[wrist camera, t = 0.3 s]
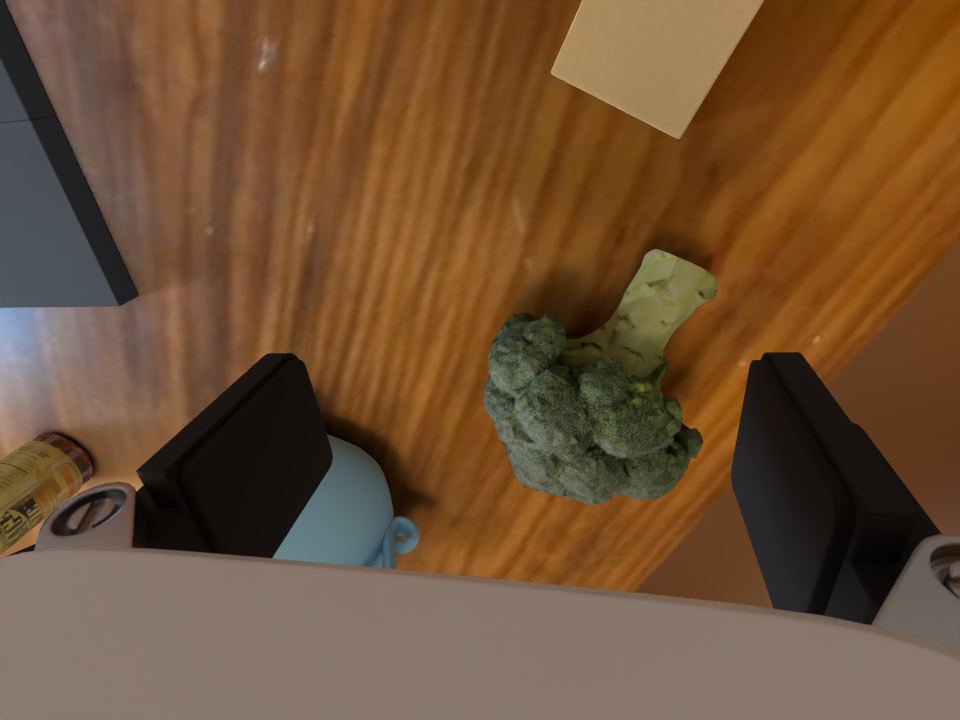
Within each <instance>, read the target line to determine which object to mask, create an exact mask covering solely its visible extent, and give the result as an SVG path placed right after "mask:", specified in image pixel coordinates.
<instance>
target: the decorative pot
mask: <svg viewBox="0 0 960 720" xmlns="http://www.w3.org/2000/svg"><path fill="white" fill-rule="evenodd" d="M327 436H328V439H329V443H330V446H331V449H332V453H333V460H332V465H331V467H330V469H329V471H328V472H327V474H326V475H325V477H324V478H323V480H322V481H321V483H320V485H319V486H318V488H317V489H316V491H315V492H314V494H313V495H312V497H311V499H310V500H309V502H308V503H307V505H306V506H305V508H304V510H303V511H302V513H301V514H300V516H299V517H298V519H297V520H296V522H295V524H294V525H293V527H292V528H291V530H290V531H289V533H288V534H287V536H286V538H285V539H284V541H283V542H282V544H281V545H280V547H279V549H278V550H277V552H276V553H275V555H274V556H273V559H285V560H296V561H308V562H319V563H331V564H341V565H352V566H363V567H374V568H385V569H396V552H398V553H408V552H410V551H411V550H413V549H414V548H415V546H416V545H417V543H418V541H419V537H420V532H419V528H418V526H417V525H416V524H415V522H413V521H412V520H411V519H409V518H407V517H404V516H397V517H394V512H393V506H392V501H391V496H390V491H389V488H388V485H387V482H386V478H385V476H384V473H383V471H382V469H381V468H380V466H379V465H378V463H377V462H376V461H375V460H374V459H373V458H372V457H371V456H370V455H369V454H367V453H366V452H365V451H363V450H362V449H361V448H359V447H357V446H355V445H353V444H351V443H348V442H346V441H344V440H341V439H339V438H336V437H334V436H331V435H328V434H327ZM399 535H404V536H406V537H408V538H407V539H406V540H404V541H400V540H397V539H396V537H397V536H399Z"/></svg>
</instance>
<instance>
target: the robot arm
mask: <svg viewBox="0 0 960 720" xmlns="http://www.w3.org/2000/svg"><path fill="white" fill-rule="evenodd" d="M332 460H333V453H332V449H331V446H330V443H329V439H328V436H327V433H326V430H325V427H324V423H323V420H322V417H321V414H320V411H319V407H318V404H317V401H316V398H315V394H314V391H313V388H312V385H311V382H310V378H309V375H308V372H307V369H306V366H305V364H304V362H303V361H302V360H299V359H298V358H297V356H296V355H294V354H292V353H270V354H266V355H265V356H263V357H262V358H261V359H260V360H259V361H258V362H257V363H256V364H255V365H253V366H252V367H251V368H250V369H249V370H248V371H247V372H246V373H245V374H243V375H242V376H241V377H240V378H239V379H238V380H237V381H236V382H234V383H233V384H232V385H231V386H230V387H229V388H228V389H227V390H226V391H224V392H223V393H222V394H221V395H220V396H219V397H218V398H217V399H216V400H214V401H213V402H212V403H211V404H210V405H209V406H208V407H207V408H206V409H204V410H203V411H202V412H201V413H200V414H199V415H198V416H197V417H196V418H194V419H193V420H192V421H191V422H190V423H189V424H188V425H187V426H186V427H184V428H183V429H182V430H181V431H180V432H179V433H178V434H177V435H176V436H174V437H173V438H172V439H171V440H170V441H169V442H168V443H167V444H166V445H164V446H163V447H162V448H161V449H160V450H159V451H158V452H157V453H156V454H154V455H153V456H152V457H151V458H150V459H149V460H148V461H147V462H145V463H144V464H143V465H142V466H141V467H140V468H139V469H138V470H137V471H136V472H137V474H138V475H139V477H140V479H141V481H142V483H143V484H144V485H143V486H142V487H141V488H140V489H139V490H138V491H137V492H136V490H135V488H134V487H133V486H131V485H130V484H129V483H123V482H114V483H106V484H103V485H99V486H96V487H93V488H91V489H88V490H86V491H84V492H81V493H79V494H77V495H76V496H74V497H72V498H70V499H69V500H67V501H65V502H64V503H63V504H62V505H60V506H59V507H58V508H56V509H55V510H54V511H53V512H52V513H51V514H50V515H49V516H48V517H47V518H46V519H45V521H44V523H43V525H42V527H41V529H40V531H39V535H38V538H37V542H36V544H34V545H32V546H30V547H27V548H25V549H22V550H20V551H18V552H15V553H13V554H11V555H8V556H6V557H2V558H0V720H960V534H941V533H940V531H939V530H938V529H937V527H936V526H935V525H934V523H933V522H932V521H931V519H930V518H929V517H928V515H927V514H926V513H925V511H924V510H923V509H922V507H921V506H920V505H919V503H918V502H917V501H916V499H915V498H914V497H913V495H912V494H911V493H910V491H909V490H908V489H907V487H906V486H905V485H904V483H903V482H902V480H901V479H900V478H899V477H898V475H897V474H896V472H895V471H894V470H893V468H892V467H891V466H890V465H889V463H888V462H887V461H886V459H885V458H884V457H883V455H882V454H881V452H880V451H879V450H878V448H877V447H876V446H875V444H874V443H873V442H872V440H871V439H870V438H869V436H868V435H867V434H866V433H865V431H864V430H863V429H862V428H861V427H860V426H859V425H857V424H854V423H852V422H851V421H850V420H849V418H848V417H847V416H846V414H845V413H844V411H843V410H842V409H841V407H840V406H839V404H838V403H837V402H836V400H835V399H834V398H833V397H832V395H831V394H830V392H829V391H828V389H827V388H826V387H825V385H824V384H823V383H822V381H821V380H820V378H819V377H818V376H817V374H816V373H815V372H814V370H813V369H812V368H811V366H810V365H809V363H808V362H807V361H806V359H805V358H804V357H803V355H802V354H801V353H797V352H781V353H764V354H763V356H762V358H761V360H753V361H752V362H751V364H750V368H749V374H748V379H747V385H746V391H745V396H744V402H743V407H742V413H741V418H740V424H739V430H738V435H737V441H736V446H735V452H734V458H733V463H732V469H731V480H732V486H733V490H734V493H735V496H736V498H737V501H738V505H739V507H740V510H741V513H742V516H743V519H744V522H745V525H746V528H747V531H748V534H749V537H750V540H751V543H752V546H753V549H754V552H755V555H756V558H757V561H758V564H759V566H760V570H761V572H762V576H763V578H764V581H765V584H766V587H767V590H768V593H769V596H770V599H771V602H772V605H773V608H774V609H773V608H766V607H758V606H751V605H742V604H734V603H726V602H716V601H708V600H698V599H689V598H680V597H671V596H662V595H654V594H644V593H634V592H624V591H614V590H603V589H593V588H583V587H573V586H563V585H553V584H543V583H533V582H522V581H512V580H502V579H492V578H481V577H471V576H460V575H449V574H439V573H428V572H417V571H407V570H396V569H385V568H374V567H363V566H352V565H341V564H331V563H319V562H308V561H296V560H285V559H273V556H274V555H275V553H276V552H277V550H278V549H279V547H280V545H281V544H282V542H283V541H284V539H285V538H286V536H287V534H288V533H289V531H290V530H291V528H292V527H293V525H294V524H295V522H296V520H297V519H298V517H299V516H300V514H301V513H302V511H303V510H304V508H305V506H306V505H307V503H308V502H309V500H310V499H311V497H312V495H313V494H314V492H315V491H316V489H317V488H318V486H319V485H320V483H321V481H322V480H323V478H324V477H325V475H326V474H327V472H328V471H329V469H330V467H331V465H332Z"/></svg>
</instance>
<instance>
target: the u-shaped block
mask: <svg viewBox="0 0 960 720" xmlns="http://www.w3.org/2000/svg"><path fill="white" fill-rule="evenodd" d="M136 297H138V295H137V293H136V290H135V288H134V286H133V284H132V282H131V280H130V277H129V275H128V273H127V271H126V269H125V266H124V264H123V262H122V260H121V258H120V255H119V253H118V251H117V249H116V247H115V244H114V242H113V240H112V238H111V236H110V233H109V231H108V229H107V227H106V225H105V222H104V220H103V218H102V216H101V214H100V211H99V209H98V207H97V205H96V203H95V200H94V198H93V196H92V194H91V192H90V190H89V187H88V185H87V183H86V181H85V179H84V176H83V174H82V172H81V170H80V168H79V165H78V163H77V161H76V159H75V157H74V154H73V152H72V150H71V148H70V146H69V143H68V141H67V139H66V137H65V135H64V132H63V130H62V128H61V126H60V124H59V121H58V119H57V117H55V113H54V111H53V109H52V107H51V104H50V102H49V100H48V98H47V96H46V93H45V91H44V89H43V87H42V85H41V83H40V80H39V78H38V76H37V74H36V72H35V69H34V67H33V65H32V63H31V61H30V58H29V56H28V54H27V52H26V50H25V47H24V45H23V43H22V41H21V39H20V36H19V34H18V32H17V30H16V28H15V25H14V23H13V21H12V19H11V17H10V15H9V12H8V10H7V8H6V6H5V4H4V1H3V0H0V308H4V307H97V306H121V305H123V304H125V303H127V302H128V301H130V300H132V299H134V298H136Z"/></svg>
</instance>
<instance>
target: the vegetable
mask: <svg viewBox="0 0 960 720" xmlns="http://www.w3.org/2000/svg"><path fill="white" fill-rule="evenodd" d="M717 284H718V281H717V280H716V278H715V277H714V276H713V275H712V274H710V273H709V272H707V271H706V270H704V269H703V268H701V267H699V266H697V265H695V264H693V263H691V262H689V261H686V260H684V259H681V258H679V257H677V256H674V255H672V254H669V253H667V252H665V251H661V250H658V249H653V250H651V251H650V252H648V253H647V254H646V255H645V256H644V259H643V262H642V265H641V267H640V269H639V270H638V272H637V274H636V275H635V277H634V279H633V280H632V282H631V283H630V285H629V287H628V288H627V290H626V292H625V293H624V295H623V298H622V300H621V303H620V305H619V306H618V308H617V309H616V311H615V312H614V314H613V315H612V317H611V319H610V320H609V321H607V322H606V323H605V324H604V325H603V326H601V327H600V328H599V329H597V330H596V331H594V332H593V333H591V334H589V335H586V336H584V337H581V338H579V339H566V332H565V328H564V326H563V324H562V322H561V320H560V319H559V318H558V317H557V316H555V315H552V314H549V313H545V315H544V317H543V318H541V319H539V320H536V319H535V317H533V316H532V315H531V314H530V313H520V314H519V315H518V314H514V315H513V316H512V317H511V318H510V319H509V320H508V321H507V322H506V323H504V325H503V327H501V328H500V332H499V333H498V334H497V336H496V338H495V340H494V341H492V343H491V351H490V353H489V356H488V358H489V359H488V372H489V373H490V377H489V378H488V380H487V381H486V383H485V386H484V397H483V401H484V407H485V410H486V411H487V412H488V414H489V415H490V416H491V418H492V419H493V420H494V421H495V429H496V431H497V432H498V438H499V439H500V441H501V443H502V444H503V445H504V446H505V447H506V455H507V457H508V459H509V462H510V466H511V468H512V470H513V473H514V475H515V477H516V478H517V479H518V480H519V481H520V482H521V483H522V485H523V487H531V488H532V489H534V490H535V491H543V492H544V493H546V494H548V495H556V496H558V497H568V498H573V499H575V500H577V501H579V502H582V503H585V504H602V503H605V502H607V501H610V500H611V498H612V496H618V495H620V494H623V495H625V496H627V497H630V498H633V499H637V500H641V501H642V500H647V499H649V500H653V501H654V500H656V499H658V498H660V497H662V496H664V495H666V494H668V493H669V492H670V491H671V490H672V489H673V488H674V487H675V486H676V484H677V483H678V482H679V481H680V479H681V478H682V477H683V476H684V474H685V471H686V470H687V468H688V465H689V462H690V459H691V458H697V455H698V452H699V450H700V449H701V447H702V444H703V440H702V437H701V434H700V433H699V431H698V430H697V429H694V428H693V429H689V428H688V427H687V426H685V425H684V424H683V423H682V409H681V407H680V404H679V402H678V399H677V398H674V397H670V396H664V397H663V395H662V393H661V385H660V383H661V381H662V380H663V378H664V376H665V373H666V367H667V362H666V361H665V359H664V356H663V350H664V348H665V346H666V344H667V342H668V340H669V338H670V337H671V336H672V334H673V333H674V332H675V330H676V329H677V328H678V327H679V326H680V325H681V324H682V323H683V322H684V321H685V320H686V319H687V318H688V317H689V316H690V315H691V314H692V313H693V312H694V311H695V309H696V308H697V307H699V306H700V305H702V304H703V303H705V302H706V301H708V300H710V299H715V296H716V292H717V290H715V287H716V286H717Z"/></svg>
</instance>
